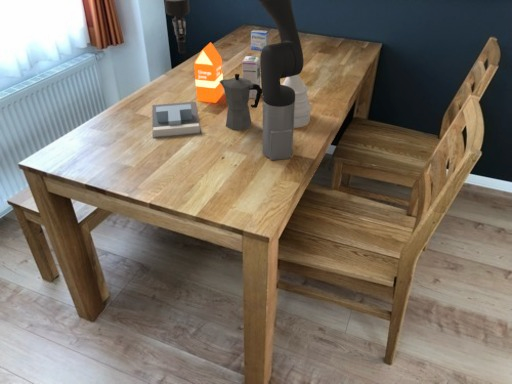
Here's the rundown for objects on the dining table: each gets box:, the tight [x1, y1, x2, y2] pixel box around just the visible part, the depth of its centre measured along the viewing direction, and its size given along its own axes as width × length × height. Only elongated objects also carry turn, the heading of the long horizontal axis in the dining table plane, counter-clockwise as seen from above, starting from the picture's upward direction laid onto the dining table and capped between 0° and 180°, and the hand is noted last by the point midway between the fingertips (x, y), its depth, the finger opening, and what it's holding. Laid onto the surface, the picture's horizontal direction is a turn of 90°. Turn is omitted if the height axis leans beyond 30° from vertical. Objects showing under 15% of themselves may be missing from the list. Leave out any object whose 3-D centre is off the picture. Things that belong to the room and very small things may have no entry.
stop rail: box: [152, 123, 201, 137], centre depth 144 cm, size 2×15×2 cm, turn 101°
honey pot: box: [280, 74, 312, 129], centre depth 148 cm, size 13×13×18 cm
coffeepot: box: [219, 73, 263, 131], centre depth 145 cm, size 15×9×18 cm, turn 66°
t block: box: [156, 104, 192, 126], centre depth 150 cm, size 12×12×4 cm
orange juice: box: [193, 42, 224, 104], centre depth 163 cm, size 8×9×20 cm
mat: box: [151, 101, 203, 140], centre depth 154 cm, size 26×16×1 cm, turn 11°
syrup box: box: [241, 55, 261, 99], centre depth 166 cm, size 6×6×14 cm
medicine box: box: [250, 29, 270, 51], centre depth 213 cm, size 8×4×9 cm, turn 73°
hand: (182, 52), depth 147 cm, fingers closed
